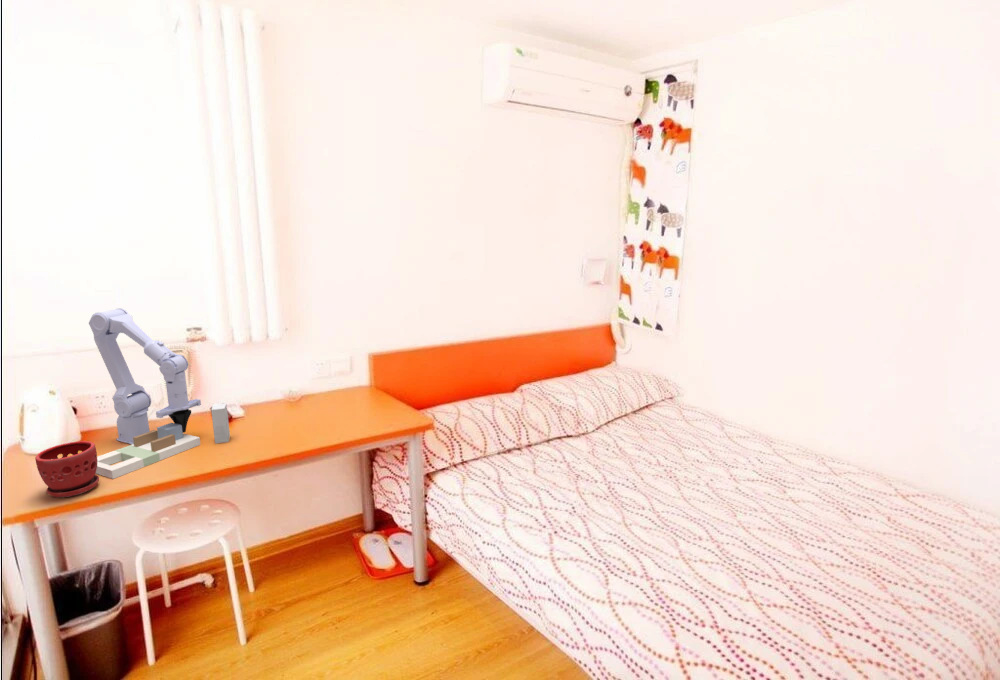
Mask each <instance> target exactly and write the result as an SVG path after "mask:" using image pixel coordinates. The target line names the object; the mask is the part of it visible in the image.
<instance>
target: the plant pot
mask: <svg viewBox="0 0 1000 680" xmlns="http://www.w3.org/2000/svg"><path fill="white" fill-rule="evenodd" d="M59 455H62V456H61V457H60V458H59V457H58V456H59ZM97 457H98V453H97V448H96V444H95V442H92V441H89V440H88V441H87V440H81V441H80V440H79V441H71V442H70V441H69V442H67V443H61V444H57V445H54V446H52V447H48V448H46V449H44V450H42V451H40V452H39V453H37V455H35V458H34V459H35V460H34V461H35V464H36V468H37V471H38V473H39V475H40V477H41V480H42V481H43V483H44V484H45V485H46V486H47V488H46V493H47V494H48V495H49V496H51V497H54V498H64V497H66V498H68V497H73V496H77V495H81V494H83V493H87V492H88V491H91V489H94V488H95V487H96V486H97V485H98V483H99V481H100V475H98V474H96V470H97Z"/></svg>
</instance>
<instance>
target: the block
mask: <svg viewBox="0 0 1000 680" xmlns="http://www.w3.org/2000/svg"><path fill="white" fill-rule="evenodd" d="M156 431H157V432H158V439H160V438H162V437H165V436H168V435H171V434H173V435H175V441H176V440H179V439H182V438H183V434H184V433H183V432H182V425H180V424H176V423H174V422H169V423H166V424H163V425H161V426H158V427H156Z"/></svg>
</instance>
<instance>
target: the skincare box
mask: <svg viewBox="0 0 1000 680" xmlns="http://www.w3.org/2000/svg"><path fill="white" fill-rule="evenodd" d="M211 421H212V428H213V438H214V444H221V443H222V444H224V443H229V441H230V437H231V433H230V431H231V430H230V425H229V415H228V405H227V403H226V402H225V403H223V402H222V403H213V404H212V406H211Z"/></svg>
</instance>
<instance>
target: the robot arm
mask: <svg viewBox="0 0 1000 680" xmlns="http://www.w3.org/2000/svg"><path fill="white" fill-rule="evenodd" d="M88 325H89V327H90V330H91V331H92V333H93V341H94V343H95V345H96V347H97V349H98V353H100V356H101V358H102V361H103V363H104V365H105V367H106V370H107V371H108V373H109V376H110V378H111V380H112V383H113V384H114V386H115V390H116V391H115V392H114V394H113V395H112V398H111V399H112V401H113V404H114V405H113V408H114V411H115V413H116V414H117V415H118V417H117V418H116V426H117V435H118V437H117V438H116V441H119V442H121V443H125V444H130V445H132V444H134V442H133V437H135V436H138V435H141V434H144V433H147V432H150V431H151V430H150V424H149V416H148V411H149V408H150V407H151V405H152V398H151V396H150V395H149V393H148V392H146V390H145V388H144V387H143V385H140V384H137V383H136V381H135V379H134V377H133V374H132V373H131V371H130V369H129V366H128V364H127V361H126V360H125V357H124V355H123V353H122V351H121V349H120V346H119V343H118V342H117V338H118V337H119V334H124V335H126V336H127V337H129V339H131V340H132V341H134V342H135V343H137V344H139V346H141V347H142V348H143V354H144V355H146V356H147V357H148V358H149V359H150V360H152V361H153V362H154V363H155V364H156V365H158V366H159V369H158V370H159V371H160V374H162V376H163V380H164V381H165V387H166V396H167V403H168V405H167V406H165V407H164V408H162V409H160V410H157V411H155V415H156V418H158V419H162V418H164V417H166V416H168V417H169V418H170V419H171V420H172V423H176V424H180V425H182V432H183V434H185V433H186V431H187V425H188V422H189V419H190V417H191V415H192V410H191V408H194V407H197V406H198V407H200V406H201V405H202V402H201V399H198V398H194V399H192V400H189V396H188V388H187V387H188V386H187V379H186V371H187V369H188V368H189V362H188V359H187V357H185V356H184V355H183V354H177V353H176V352H174V351H172V350H171V349H170V348H168V347H167V345H165V343H164V342H163V341H162V340H161V341H160V340H157V339H155V340H154V339H152V338H151V337H150V336H149V335H148V334H147V333H146V332H145V331H144V330H143V329H142V328H141V327H140V326H139V325H138V324H136V322H135V321H134V320H133V316H132V315H131V314H130V313H129V312H128V311H127V310H126V309H124V308H115V309H112V310H105V311H101V312H99V311H98V312H95V313H93V314H91V317H90V319H89V321H88Z"/></svg>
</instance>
